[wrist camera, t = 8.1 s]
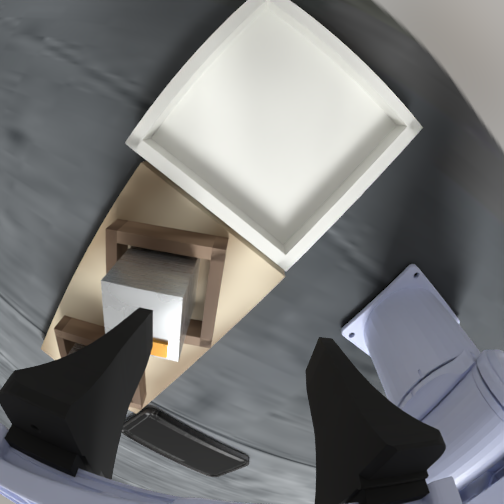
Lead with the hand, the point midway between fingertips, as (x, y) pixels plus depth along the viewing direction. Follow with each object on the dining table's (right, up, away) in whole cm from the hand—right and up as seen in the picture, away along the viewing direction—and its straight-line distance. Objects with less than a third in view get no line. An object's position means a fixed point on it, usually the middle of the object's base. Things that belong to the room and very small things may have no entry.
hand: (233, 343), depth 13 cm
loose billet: (-5, +2, +8) cm, 10 cm away
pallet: (-9, -1, +11) cm, 14 cm away
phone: (-7, -19, +19) cm, 28 cm away
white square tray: (+2, +12, +5) cm, 13 cm away
